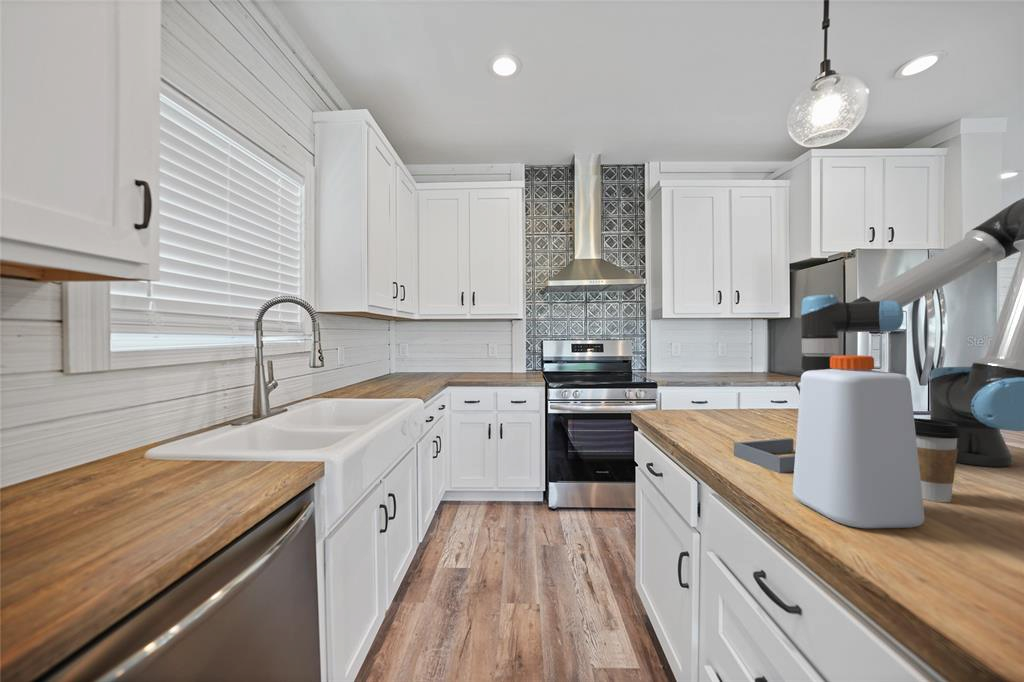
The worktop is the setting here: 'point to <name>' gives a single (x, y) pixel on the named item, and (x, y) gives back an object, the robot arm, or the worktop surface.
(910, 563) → the worktop surface
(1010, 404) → the robot arm
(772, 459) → the grey shallow tray
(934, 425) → the coffee cup
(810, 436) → the plastic bottle
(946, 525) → the worktop surface
